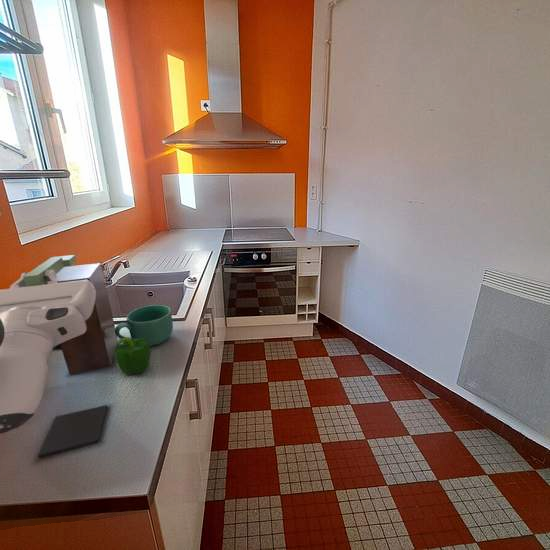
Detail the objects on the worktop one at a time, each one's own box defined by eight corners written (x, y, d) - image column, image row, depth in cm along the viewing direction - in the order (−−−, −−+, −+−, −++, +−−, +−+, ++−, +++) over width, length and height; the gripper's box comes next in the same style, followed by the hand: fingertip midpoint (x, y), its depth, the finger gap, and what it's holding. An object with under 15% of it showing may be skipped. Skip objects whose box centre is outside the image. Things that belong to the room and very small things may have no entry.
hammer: (49, 285, 58) (45, 274, 57) (18, 289, 56) (14, 277, 56) (76, 260, 75) (74, 251, 74) (53, 263, 74) (50, 253, 73)
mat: (38, 457, 57) (37, 455, 56) (56, 418, 66) (55, 416, 65) (98, 442, 59) (97, 439, 59) (107, 407, 68) (106, 404, 68)
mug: (167, 326, 104) (163, 301, 101) (180, 341, 95) (176, 313, 92) (115, 342, 95) (108, 315, 92) (123, 361, 85) (116, 331, 82)
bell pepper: (156, 358, 86) (150, 327, 83) (148, 376, 78) (142, 343, 75) (125, 361, 85) (118, 330, 82) (114, 380, 77) (106, 346, 74)
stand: (69, 374, 80) (41, 283, 72) (82, 347, 93) (60, 267, 84) (110, 366, 83) (89, 277, 75) (118, 341, 96) (100, 263, 87)
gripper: (-40, 353, 51) (-15, 290, 60) (95, 330, 57) (100, 277, 66) (-66, 333, 46) (-35, 269, 55) (84, 311, 52) (91, 256, 61)
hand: (40, 273), depth 60 cm, fingers closed on hammer, 2 cm apart
